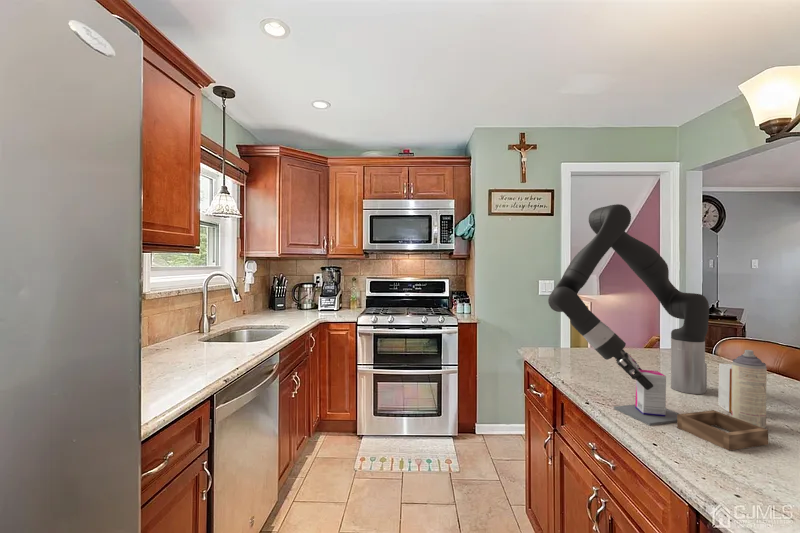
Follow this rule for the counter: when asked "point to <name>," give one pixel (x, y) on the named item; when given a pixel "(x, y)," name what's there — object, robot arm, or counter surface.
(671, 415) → the slate mat
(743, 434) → the tray
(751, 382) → the aerosol can
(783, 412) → the counter surface
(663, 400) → the supplement box
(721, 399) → the small box
